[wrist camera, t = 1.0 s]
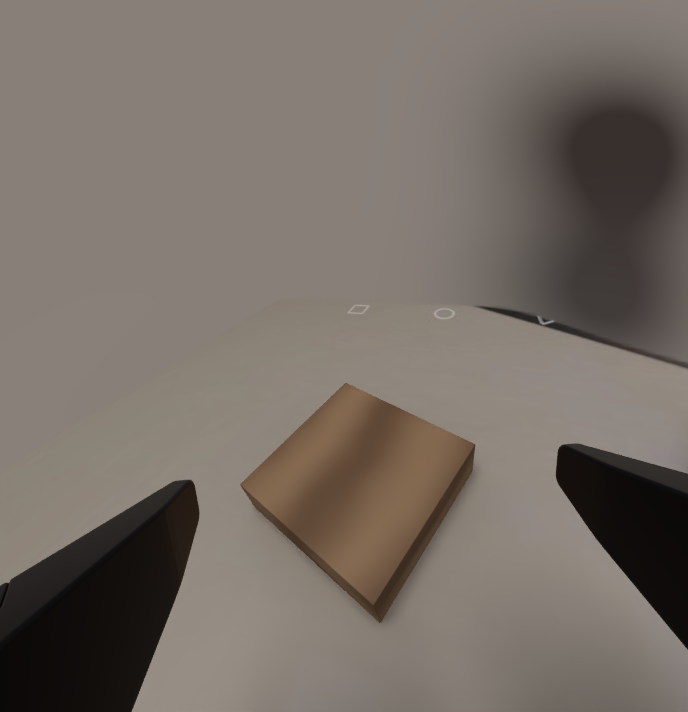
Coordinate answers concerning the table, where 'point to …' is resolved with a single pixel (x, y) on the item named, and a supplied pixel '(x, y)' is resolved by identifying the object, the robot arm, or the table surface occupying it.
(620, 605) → the table surface
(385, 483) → the walnut block
